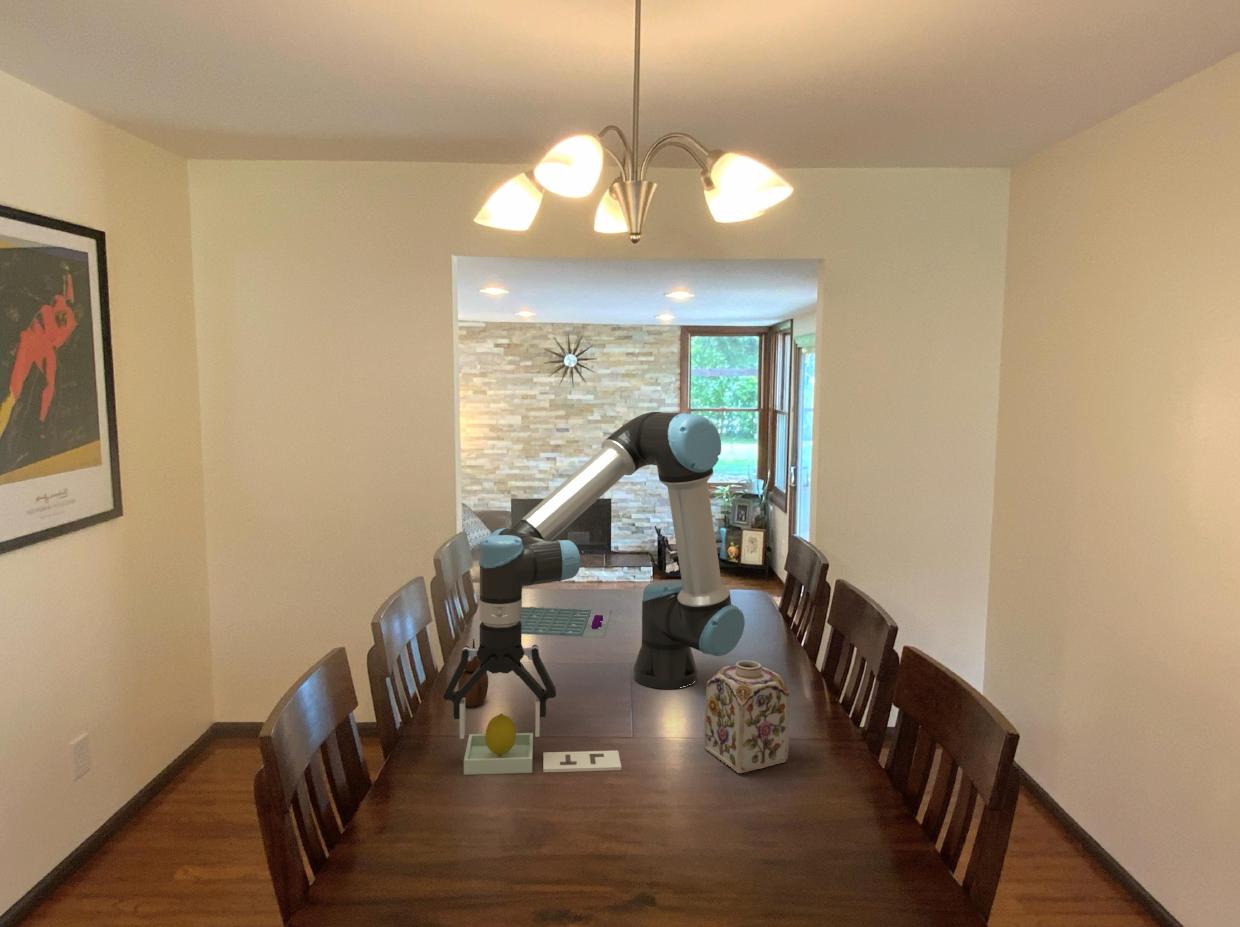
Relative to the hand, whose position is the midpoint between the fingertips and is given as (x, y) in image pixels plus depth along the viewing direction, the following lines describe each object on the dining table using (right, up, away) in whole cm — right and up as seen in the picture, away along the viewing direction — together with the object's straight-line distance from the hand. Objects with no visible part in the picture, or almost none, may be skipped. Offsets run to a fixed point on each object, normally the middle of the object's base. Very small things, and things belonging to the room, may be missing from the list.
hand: (500, 734), depth 142 cm
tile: (+15, -5, 0) cm, 16 cm away
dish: (0, -5, 0) cm, 5 cm away
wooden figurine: (-10, -2, +25) cm, 27 cm away
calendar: (+4, +2, +86) cm, 86 cm away
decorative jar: (+46, -6, +4) cm, 46 cm away
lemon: (0, -4, +1) cm, 4 cm away
